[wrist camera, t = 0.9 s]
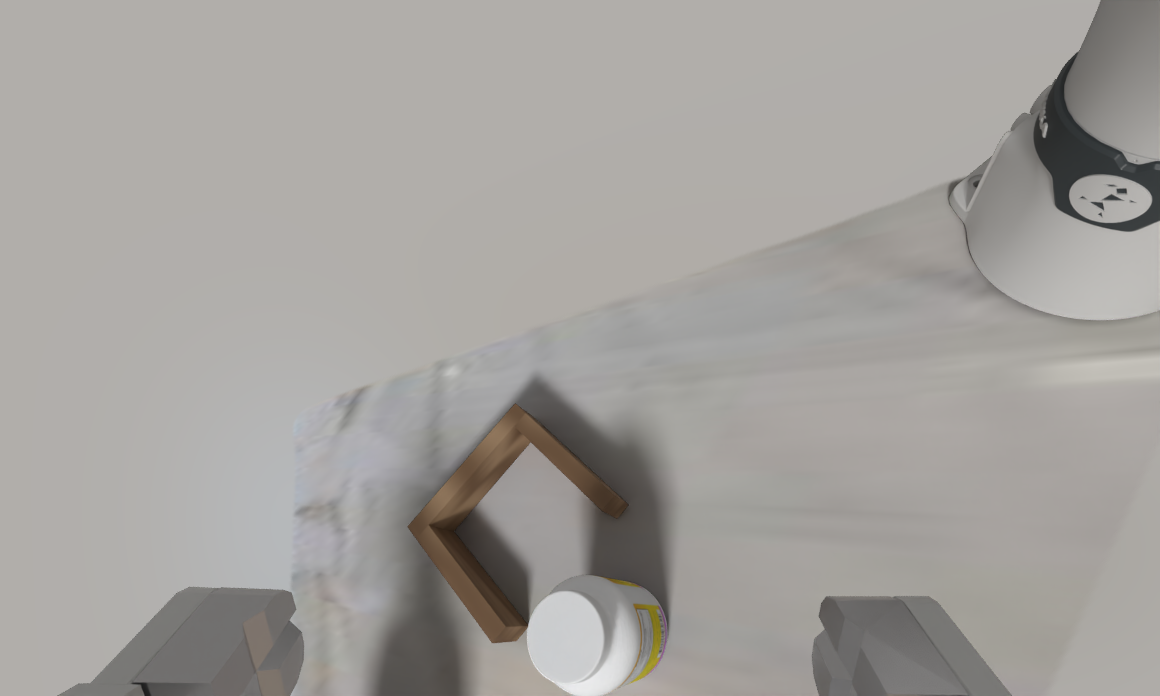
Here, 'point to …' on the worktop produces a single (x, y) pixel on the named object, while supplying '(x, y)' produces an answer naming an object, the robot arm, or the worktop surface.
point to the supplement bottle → (596, 635)
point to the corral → (466, 493)
